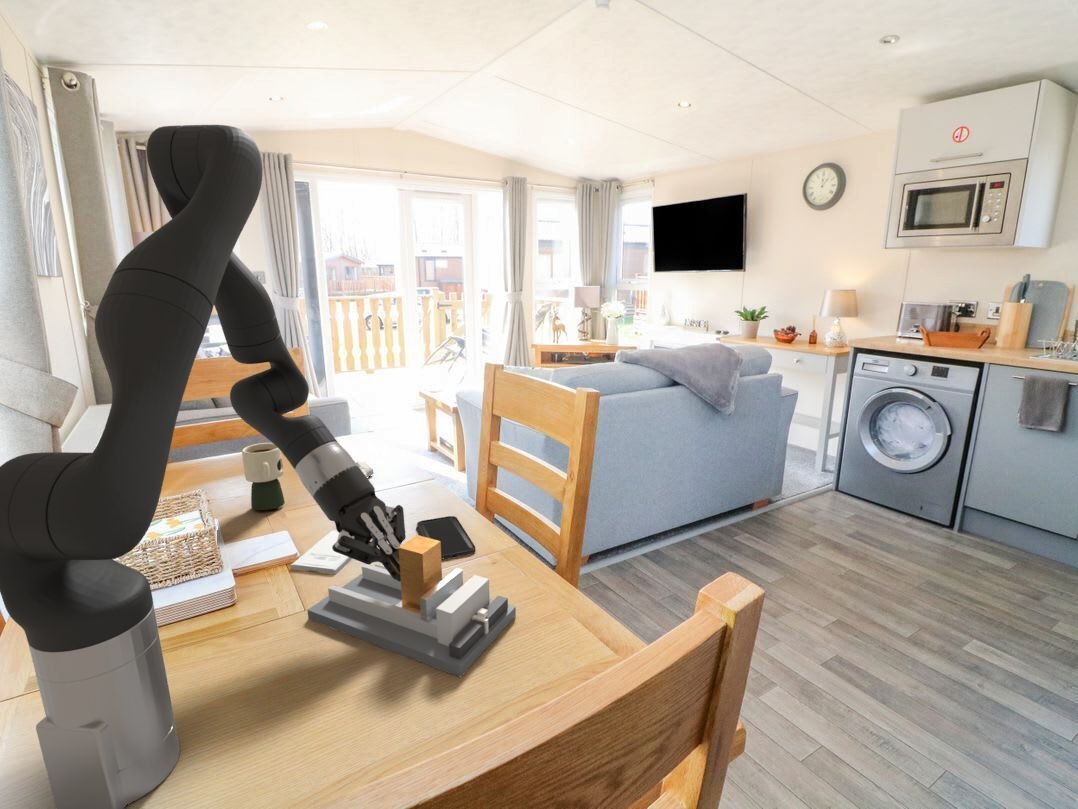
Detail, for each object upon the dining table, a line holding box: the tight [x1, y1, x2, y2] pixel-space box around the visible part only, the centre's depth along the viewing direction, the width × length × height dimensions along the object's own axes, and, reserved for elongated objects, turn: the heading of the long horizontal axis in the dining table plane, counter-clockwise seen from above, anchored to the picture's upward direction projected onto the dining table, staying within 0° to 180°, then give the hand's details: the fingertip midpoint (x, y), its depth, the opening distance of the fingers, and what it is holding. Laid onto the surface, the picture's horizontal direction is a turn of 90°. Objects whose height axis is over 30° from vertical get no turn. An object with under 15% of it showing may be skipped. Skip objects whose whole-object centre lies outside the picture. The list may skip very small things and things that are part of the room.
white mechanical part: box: [355, 461, 374, 478], centre depth 132 cm, size 18×4×10 cm
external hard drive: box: [290, 530, 372, 575], centre depth 99 cm, size 2×8×12 cm
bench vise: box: [307, 563, 517, 677], centre depth 81 cm, size 26×14×6 cm, turn 63°
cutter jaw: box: [395, 534, 464, 622], centre depth 79 cm, size 7×8×10 cm
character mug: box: [241, 442, 286, 511], centre depth 116 cm, size 11×7×13 cm, turn 32°
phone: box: [416, 515, 476, 561], centre depth 105 cm, size 8×1×15 cm
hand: (406, 576), depth 80 cm, fingers closed
